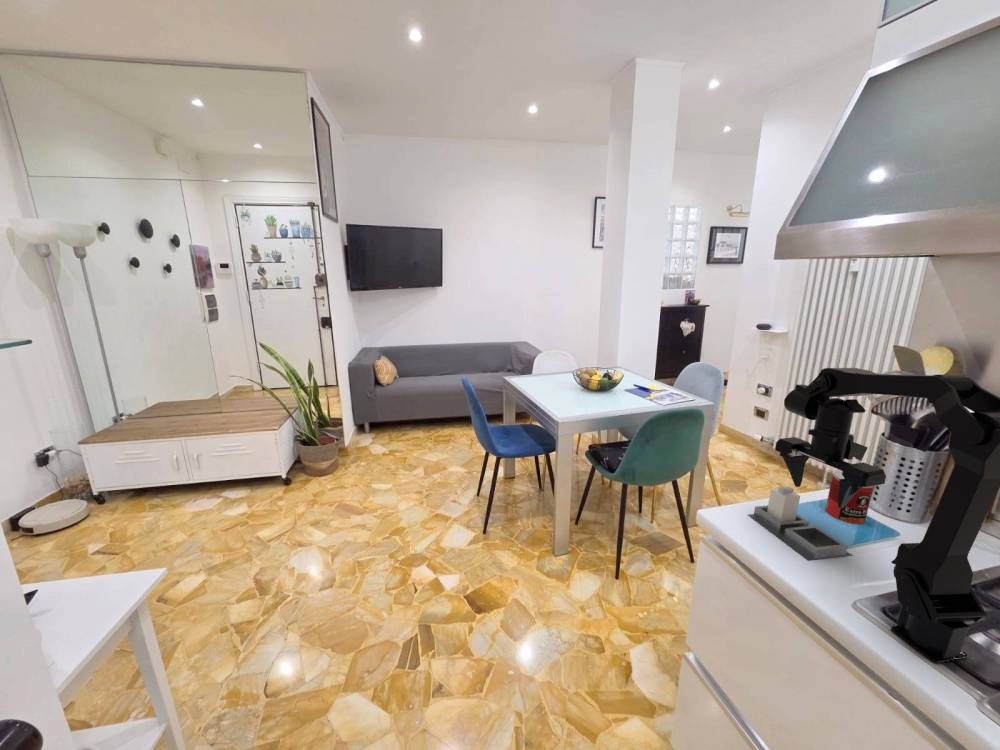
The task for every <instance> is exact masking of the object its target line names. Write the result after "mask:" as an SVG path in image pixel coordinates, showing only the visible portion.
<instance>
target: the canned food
mask: <svg viewBox="0 0 1000 750" xmlns="http://www.w3.org/2000/svg"><path fill="white" fill-rule="evenodd" d="M842 472H843V471H842V470H839V469H837V470H835V471H833V473H832V478H831V482H830V486H829V491H828V495H827V500H826V504H825V511H826V513H827V514H828V515H829V516H831V517H833V518H835V519H837V520H840V521H842V522H844V523H849V524H854V525H861V524H864V523H865V522H866V519H867V515H868V511H869V507H870V504H871V500H872V495H873V492H874V491H873V490H874V487H875V486H869V487H862V488H861V489H860V490H859V491H858V492H857V493H856V494H855V495H854V496H853V497H852V498H851V500H850V501H849V502H848V503H847V504H846V506H845V507H844V508H839V507H838V492H839V480H840V479H845V478H844V477H843V475H842Z"/></svg>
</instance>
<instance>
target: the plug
mask: <svg viewBox="0 0 1000 750" xmlns="http://www.w3.org/2000/svg"><path fill="white" fill-rule="evenodd" d="M794 491H795V490H794V488H792V486H780V487H773V488H770V495H769V498H768V499H769V500H768V503H767V504H768V505H767V506H768V509H767V513H768V514H769V515H771V516H772V517H774V518H775V519H777V520H778V521H779V522H790V521H796V515H797V514H798V510H799V504H800V500H801V495H800V494H797V493H796V492H794Z"/></svg>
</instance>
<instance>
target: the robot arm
mask: <svg viewBox="0 0 1000 750" xmlns="http://www.w3.org/2000/svg"><path fill="white" fill-rule="evenodd" d="M870 395H883V396H885V395H887V396H897V397H898V396H899V397H909V398H910V397H911V398H924V399H928V400H929V401H930V402H931V403H932V405H933V410H934V411H935V414H936V418H937V419H938V420H939V422H940V423H942V425H943V426H944V427H945V428H946V429H947V430H949V438H948V439H949V440H948V445H947V446H948V449H949V452H950V455H951V457H952V460H953V462H954V463H953V467H952V469H951V472H950V474H949V477H948V479H947V481H946V484H945V486H944V489H943V490H942V493H941V495H940V498H939V500H938V503H937V505H936V508H935V510H934V513H933V515H932V517H931V520H930V522H929V524H928V526H927V528H926V531H925V532H924V533H925V534H924V536H923V539H922V540H921V541H920V542H909V543H907V542H905V543H900V544H899V546H898V548H897V552H896V556H895V558H894V559H893V560H891V564H892V565H894V567H893V577H894V578H895V586H896V592H897V593H896V595H897V602H898V603H900V604H901V606H900V610H899V614H898V616H897V617H898V618H897V620H896V623H897V624H898V625H892V626H891V627H890V631H892V632H893V633H894V634H896V635H897V636H898V637H899V638H900V639H901V640H903V641H905V642H906V643H907V644H909V645H910V646H911V647H912V648H914V649H915V650H916V651H917V652H918V653H920V654H921V655H923V656H924V657H926V658H927V659H928V660H930V662H933V663H935V664H940V663H941V664H942V663H946V662H945V661H947V662H949V661H948V660H951V658H952V659H954V658H953V657H955V658H963V657H967V658H968V654H967V653H966V652H964V651H963V653H964V654H965V655H963V654H960V652H961V650H962V649H963V646H964V644H965V640H966V638H967V634H968V631H969V629H970V625H969V624H967V623H971V622H974V623H980V621H982V620H983V619H985V618H986V617H987V613H986V611H985V610H984V608H983V606H982V604H981V603H980V601H979V599H978V597H977V596H976V594H975V592H974V590H973V588H972V582H973V577H974V573H973V572H974V571H973V569H972V566H971V563H970V561H969V558H968V556H969V554H970V551H971V549H972V548H973V545H974V543H975V541H976V539H977V536H978V534H979V532H980V530H981V528H982V526H983V523H984V522H985V519H987V518H986V517H987V515H988V513H989V511H990V509H991V507H992V505H993V503H994V500H995V499H996V496H997V494H998V492H999V490H1000V397H999V396H998V395H996V394H994V393H991V392H990V391H989V390H986V389H984V388H983V387H982V386H980V385H979V384H978V383H977V382H976V381H975V380H974V379H972V378H970V377H968V376H966V375H964V374H957V373H956V374H955V373H954V374H949V373H948V374H931V375H929V374H928V375H927V374H894V373H893V374H890V373H889V374H887V373H886V374H885V373H876V372H874V371H872V370H868V369H863V368H858V367H826V368H825V367H823V368H822V369H821V370H820V372H819V373H818V375H817V376H816V377H815V378H814V379H813V380H812V381H811V382H810V383H809V384H808V385H807V384H795V388H794V390H791V391H789V393H788V394H787V395H786V396H785V398H784V399H783V400H784V401H783V405H784V408H785V409H786V410H787V411H788V412H790V413H792V414H794V415H796V416H799V417H802V418H805V419H808V420H810V421H814V426H813V428H812V429H808V433H807V434H808V435H809V436H811V442H810V441H806V440H804V439H802V438H801V439H800V438H798V437H795V436H792V437H784V438H779V439H778V440H777V441H776V442H775V446H774V450H775V451H776V452H778V453H779V456H780V457H782V459H783V462H784V463H785V465H786V467H787V469H788V472H789V474H790V477H791V479H792V482H793V484H794V487H796V488H800V487H801V485H802V482H803V477H804V472H805V466H806V463H807V461H808V460H809V459H811V460H812V459H813V460H815V461H817V462H820V463H822V464H825V465H827V466H830V467H832V468H835V469H836V470H842V471H843V472H842V475H843V477H844V478H845V479H840V480H839V492H838V507H839V508H844V507H845V506H846V504H847V503H848V502H849V501H850V500H851V498H852V497H853V496H854V495H855V494H856V493H857V492H858V491H859V490H860V489H861V488H862V487H869V486H874V487H875V486H880V485H885V484H886V483H885V482H886V479H887V474H886V473H885V472H886V471H884V469H883V468H880V467H877V466H874V465H871V464H868V463H865V462H857V463H850V462H847V461H849V460H853V459H854V458H855V459H856V460H857V461H863V458H864V457H865V454H866V452H867V451H868V448H869V447H868V446H865V445H862V444H860V443H857V442H854V439H855V437H854V434H852V433H851V434H850V432H851V426H852V421H853V419H854V418H853V417H854V414H856V413H857V414H862V413H863V414H865V412H866V409H865V408H864V406H862V404H860V402H859V400H858V399H854V398H853V399H851V398H850V399H847V398H846V399H841V398H842V397H860V396H870ZM838 397H839V398H838ZM968 409H969V410H970V411H971V412H970V411H969V410H968ZM845 460H847V461H845Z"/></svg>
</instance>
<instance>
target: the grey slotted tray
mask: <svg viewBox="0 0 1000 750" xmlns="http://www.w3.org/2000/svg"><path fill="white" fill-rule="evenodd" d="M767 509H768V505H761V506H754V511H753V514H750V513H749V514H747V517H749V518H751V520H753V521H754V522H755V523H757V524H759V525H760V526H761V527H763V528H764V529H765V530H766V531H767V532H769V533H770V534H772V535H773V536H774V537H776V538H777V539H778V540H780V541H781V542H782V543H784V544H785V545H786V546H788V547H789V548H790V549H791V550H793V551H794V552H796V554H798V555H800V556H801V557H802V558H804V559H805V560H807V562H812V561H818V560H828V559H829V560H830V559H836V558H844V557H845V558H847V557H853V554H852V553H850V552H848V551H847V550H848V546H847V545H846V544H844V543H842V542H841V541H839V540H838V539H837V538H835V537H834V536H831V535H830V534H828V533H827V532H826V531H824V530H823V529H821V528H820V527H818V526H816V525H809V524H810V521H809V520H807V519H806V518H804V517H802V515H799V514H798V513H797V515H796V521H790V522H779V521H778V520H777V519H775V518H774V517H772V516H771V515H769V514H768V513H767Z"/></svg>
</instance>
